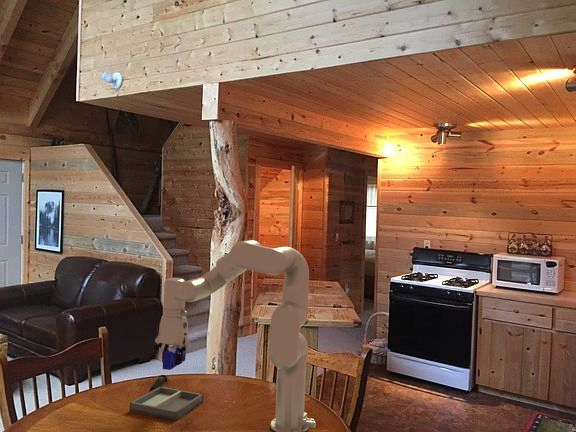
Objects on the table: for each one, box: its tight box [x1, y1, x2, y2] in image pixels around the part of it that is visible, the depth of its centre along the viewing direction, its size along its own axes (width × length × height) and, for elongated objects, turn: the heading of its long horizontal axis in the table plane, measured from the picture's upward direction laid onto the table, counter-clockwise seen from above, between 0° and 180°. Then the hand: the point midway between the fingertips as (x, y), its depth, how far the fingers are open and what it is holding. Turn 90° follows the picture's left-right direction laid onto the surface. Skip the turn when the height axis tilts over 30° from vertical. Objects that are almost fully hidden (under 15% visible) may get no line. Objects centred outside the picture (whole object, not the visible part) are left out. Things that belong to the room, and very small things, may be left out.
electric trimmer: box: [149, 374, 168, 392], centre depth 201 cm, size 4×16×3 cm, turn 177°
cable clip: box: [162, 344, 187, 371], centre depth 181 cm, size 12×4×6 cm, turn 166°
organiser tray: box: [129, 386, 205, 422], centre depth 181 cm, size 19×18×3 cm
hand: (172, 362), depth 181 cm, fingers closed on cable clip, 5 cm apart
